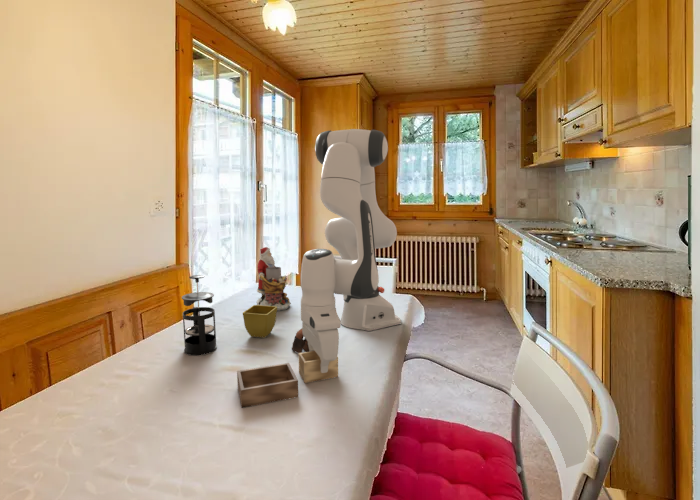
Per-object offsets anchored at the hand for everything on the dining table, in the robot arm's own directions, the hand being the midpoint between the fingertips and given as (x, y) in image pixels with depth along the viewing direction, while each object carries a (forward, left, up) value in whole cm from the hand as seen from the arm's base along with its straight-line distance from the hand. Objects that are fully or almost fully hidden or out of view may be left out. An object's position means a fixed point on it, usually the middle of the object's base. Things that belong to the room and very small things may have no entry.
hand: (318, 363), depth 100 cm
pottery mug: (-2, -17, -4) cm, 18 cm away
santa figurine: (0, -66, -4) cm, 66 cm away
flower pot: (+10, -34, -4) cm, 36 cm away
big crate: (+14, +4, -3) cm, 15 cm away
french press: (+29, -29, -4) cm, 41 cm away
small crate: (0, 0, -3) cm, 3 cm away
